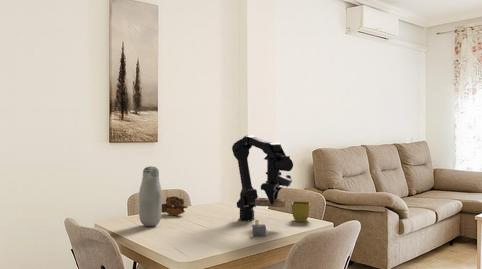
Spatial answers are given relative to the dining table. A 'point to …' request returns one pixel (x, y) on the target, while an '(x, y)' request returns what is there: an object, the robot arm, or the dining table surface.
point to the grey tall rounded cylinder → (150, 197)
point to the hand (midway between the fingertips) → (273, 203)
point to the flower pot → (300, 210)
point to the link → (266, 202)
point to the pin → (256, 222)
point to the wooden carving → (174, 206)
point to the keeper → (259, 230)
